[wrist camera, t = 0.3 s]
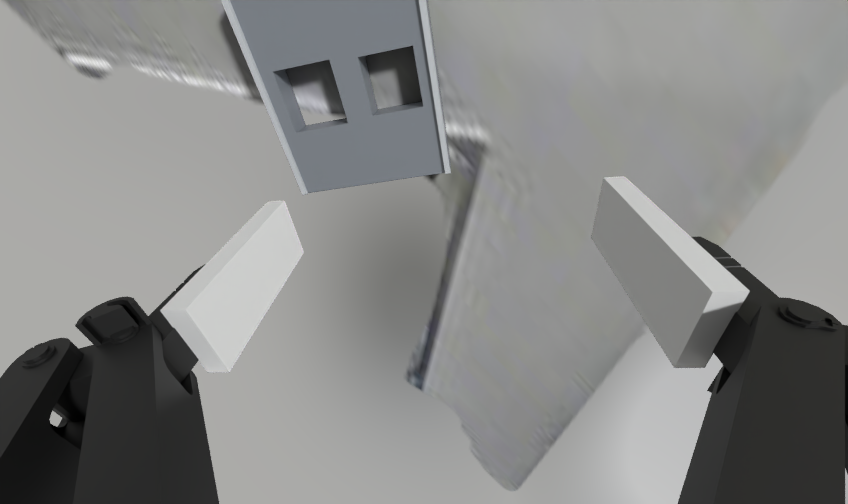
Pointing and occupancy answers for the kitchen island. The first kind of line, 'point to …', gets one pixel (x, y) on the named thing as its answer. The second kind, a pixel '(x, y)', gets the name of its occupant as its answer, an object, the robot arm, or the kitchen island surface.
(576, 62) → the kitchen island surface
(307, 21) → the grey socket board
